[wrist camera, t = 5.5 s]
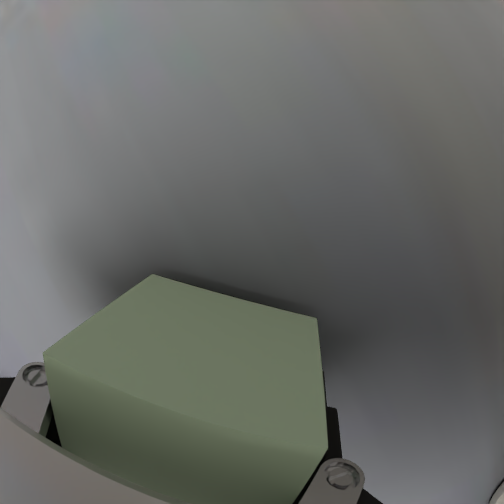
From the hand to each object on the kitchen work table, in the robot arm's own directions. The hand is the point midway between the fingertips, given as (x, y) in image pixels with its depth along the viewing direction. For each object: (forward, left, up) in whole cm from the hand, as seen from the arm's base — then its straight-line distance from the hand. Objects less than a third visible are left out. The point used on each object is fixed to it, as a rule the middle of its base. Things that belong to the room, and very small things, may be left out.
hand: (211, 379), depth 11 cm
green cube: (0, 0, -1) cm, 1 cm away
